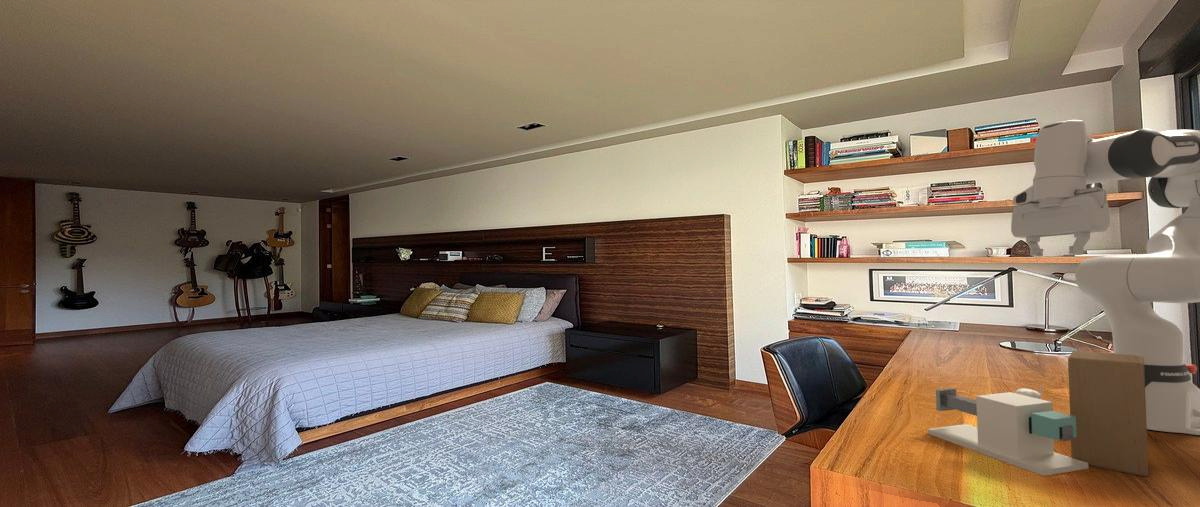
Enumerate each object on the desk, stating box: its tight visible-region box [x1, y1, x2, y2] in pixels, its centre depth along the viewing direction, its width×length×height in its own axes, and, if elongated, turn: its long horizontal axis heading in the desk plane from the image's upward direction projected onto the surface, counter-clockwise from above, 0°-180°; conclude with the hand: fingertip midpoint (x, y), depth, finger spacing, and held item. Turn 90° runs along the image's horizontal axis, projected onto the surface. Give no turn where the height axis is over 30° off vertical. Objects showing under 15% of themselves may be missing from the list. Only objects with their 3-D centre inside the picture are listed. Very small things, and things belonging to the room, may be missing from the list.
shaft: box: [935, 387, 1073, 442], centre depth 105 cm, size 5×25×5 cm, turn 14°
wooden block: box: [1067, 350, 1150, 477], centre depth 98 cm, size 10×10×20 cm
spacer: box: [1031, 410, 1077, 441], centre depth 95 cm, size 5×4×4 cm
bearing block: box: [927, 391, 1089, 477], centre depth 105 cm, size 11×24×11 cm, turn 14°
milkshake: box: [1014, 384, 1044, 399], centre depth 116 cm, size 5×5×10 cm
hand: (1055, 255), depth 113 cm, fingers open, 8 cm apart
